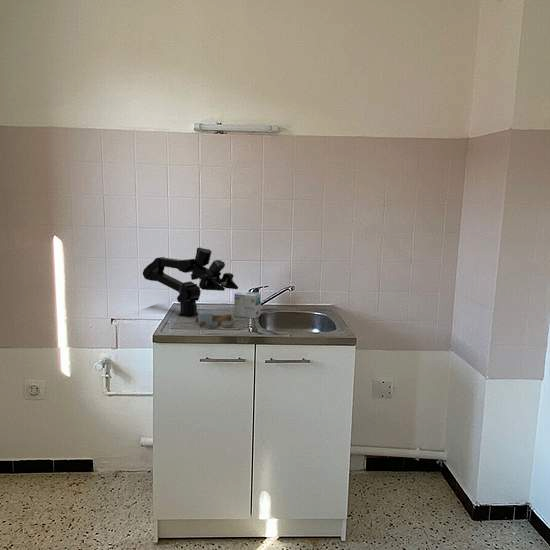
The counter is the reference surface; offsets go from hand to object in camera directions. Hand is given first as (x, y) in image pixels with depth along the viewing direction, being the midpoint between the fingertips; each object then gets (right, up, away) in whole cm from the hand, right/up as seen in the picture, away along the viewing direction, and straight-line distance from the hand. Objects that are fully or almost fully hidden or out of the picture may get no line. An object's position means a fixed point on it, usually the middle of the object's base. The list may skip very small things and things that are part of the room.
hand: (231, 288), depth 204 cm
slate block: (-11, -15, +2) cm, 19 cm away
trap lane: (-6, -15, +2) cm, 16 cm away
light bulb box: (+6, -13, +17) cm, 22 cm away
